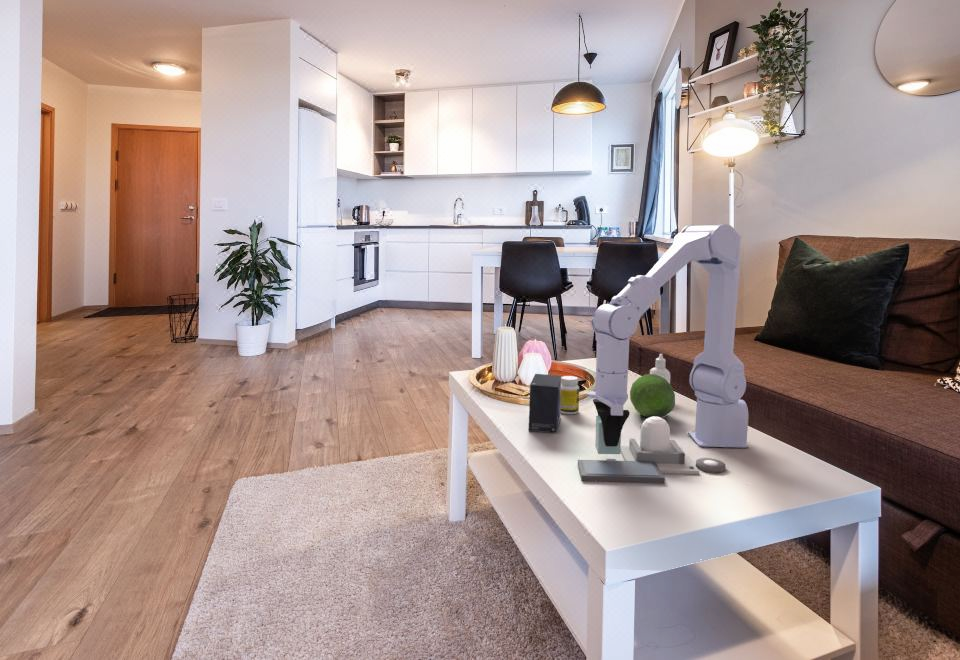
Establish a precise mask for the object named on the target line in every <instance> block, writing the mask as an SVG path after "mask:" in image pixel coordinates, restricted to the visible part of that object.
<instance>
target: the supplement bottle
mask: <svg viewBox="0 0 960 660" xmlns="http://www.w3.org/2000/svg"><path fill="white" fill-rule="evenodd" d="M578 384H579V378H578V377H577V376H573V375H564V376H561V411H560V414H563V415H576V414H578V413H579V411H580V408H579V407H580V403H579V402H580V386H579V385H578Z"/></svg>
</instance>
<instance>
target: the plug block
mask: <svg viewBox="0 0 960 660" xmlns="http://www.w3.org/2000/svg"><path fill="white" fill-rule="evenodd" d="M621 438H622V433H621V434H620V438H619V442H618V445H617V446H616V447H615V446H606V445H605V442H604V436H603V427H602V422H601V419H600V416H598V415H596V416H595V445H594V446H595V448H596V449H595V450H596V452H597V454H598V455H621V452H620V447H621V446H622V444H621V441H622V439H621Z"/></svg>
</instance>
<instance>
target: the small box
mask: <svg viewBox="0 0 960 660" xmlns="http://www.w3.org/2000/svg"><path fill="white" fill-rule="evenodd" d="M561 377H562V375H556V374H555V375H554V374H543V373H535V374H534V376H533V378H532V380H531V382H530V384H529V404H528V406H529V408H528V409H529V414H528V431H529V432H539V433H540V432H543V433H551V434H552V433H553V434H554V433H555V434H556V433H557V432H558V426H559V423H560V419H561V412H560V411H561Z"/></svg>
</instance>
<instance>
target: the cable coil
mask: <svg viewBox="0 0 960 660" xmlns="http://www.w3.org/2000/svg"><path fill="white" fill-rule="evenodd" d="M695 466H696V467H697V469H698V470H699V471H703V472H705V473H712V474H720V473H724V472H725V471H726V467H727V466H726V463H725V462H724V461H722V460H719V459H716V458H712V457H700V458H697V459H696V460H695Z"/></svg>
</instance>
